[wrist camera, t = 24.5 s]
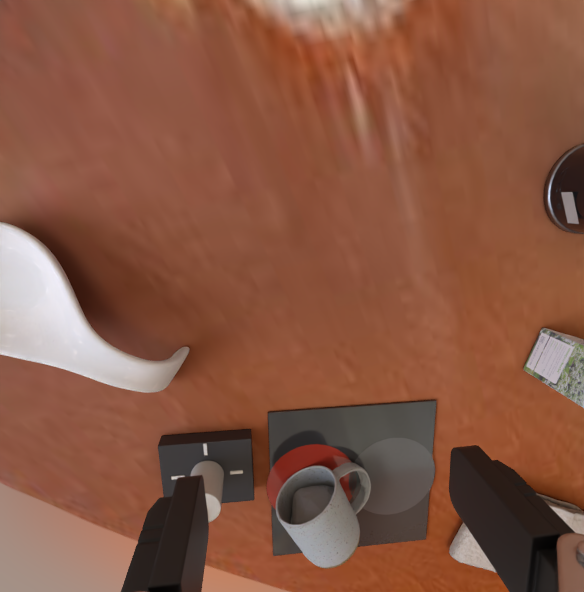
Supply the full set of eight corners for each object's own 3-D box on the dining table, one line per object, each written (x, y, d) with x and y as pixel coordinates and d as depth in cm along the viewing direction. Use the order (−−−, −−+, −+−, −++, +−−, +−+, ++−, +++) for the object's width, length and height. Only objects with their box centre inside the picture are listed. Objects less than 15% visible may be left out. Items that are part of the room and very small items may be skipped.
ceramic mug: (303, 531, 49) (314, 590, 41) (271, 484, 46) (277, 537, 39) (377, 490, 48) (402, 542, 41) (349, 441, 46) (370, 486, 39)
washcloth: (550, 575, 55) (567, 596, 52) (441, 548, 52) (453, 569, 49) (592, 506, 53) (612, 524, 50) (481, 474, 50) (496, 492, 47)
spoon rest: (-67, 300, 38) (-137, 322, 31) (-17, 194, 36) (-80, 193, 29) (156, 405, 43) (139, 444, 36) (209, 316, 41) (201, 340, 34)
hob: (439, 399, 47) (440, 400, 46) (428, 537, 51) (429, 539, 51) (263, 411, 44) (263, 413, 44) (269, 554, 49) (269, 556, 49)
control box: (251, 428, 45) (251, 439, 43) (253, 487, 47) (254, 501, 45) (161, 435, 44) (157, 447, 42) (168, 495, 46) (164, 509, 44)
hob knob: (188, 462, 43) (180, 498, 38) (222, 458, 43) (218, 493, 38) (193, 490, 44) (185, 528, 38) (225, 486, 44) (222, 523, 39)
